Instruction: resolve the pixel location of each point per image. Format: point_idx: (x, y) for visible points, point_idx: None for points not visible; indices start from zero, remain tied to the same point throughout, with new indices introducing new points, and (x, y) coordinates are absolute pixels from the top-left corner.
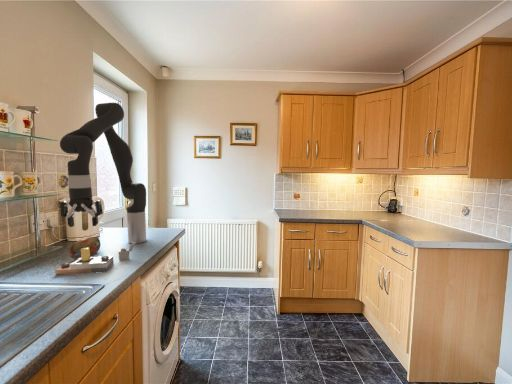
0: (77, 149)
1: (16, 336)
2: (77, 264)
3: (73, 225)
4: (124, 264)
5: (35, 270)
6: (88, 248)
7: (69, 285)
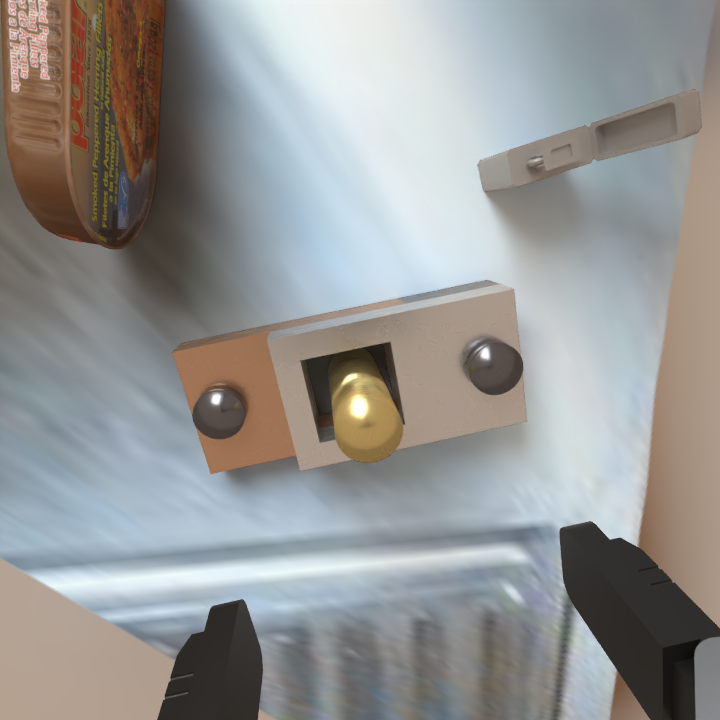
0: None
1: None
2: (347, 459)
3: (244, 615)
4: (558, 266)
5: (4, 406)
6: (394, 422)
7: (401, 553)
